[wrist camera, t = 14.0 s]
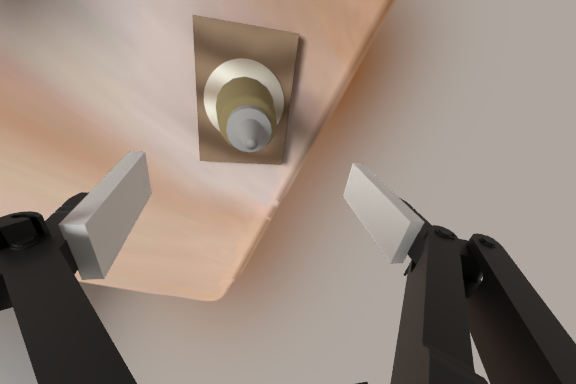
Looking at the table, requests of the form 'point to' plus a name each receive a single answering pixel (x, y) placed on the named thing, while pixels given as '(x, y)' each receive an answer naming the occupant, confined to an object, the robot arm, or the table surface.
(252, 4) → the table surface
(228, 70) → the walnut board
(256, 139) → the squeeze bottle
